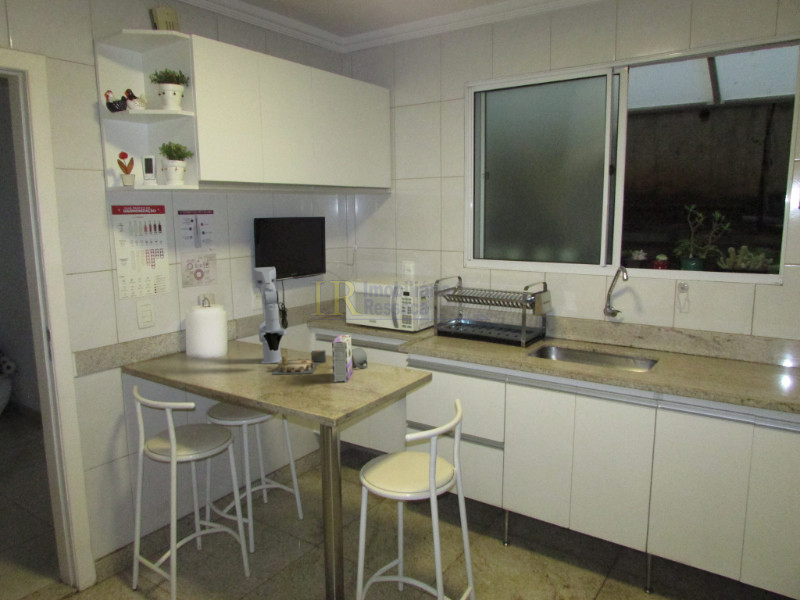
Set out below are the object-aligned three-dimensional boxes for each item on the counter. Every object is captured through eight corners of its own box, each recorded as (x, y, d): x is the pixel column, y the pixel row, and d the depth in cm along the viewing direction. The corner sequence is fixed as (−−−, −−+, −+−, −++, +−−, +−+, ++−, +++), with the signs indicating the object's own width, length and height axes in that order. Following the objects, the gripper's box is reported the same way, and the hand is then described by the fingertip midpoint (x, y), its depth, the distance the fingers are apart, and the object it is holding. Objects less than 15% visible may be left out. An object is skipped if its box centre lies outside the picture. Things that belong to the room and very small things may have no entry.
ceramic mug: (342, 366, 238) (341, 349, 237) (355, 362, 244) (355, 345, 243) (359, 371, 231) (358, 353, 230) (372, 366, 237) (372, 349, 236)
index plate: (281, 364, 245) (281, 363, 245) (319, 363, 245) (319, 362, 245) (272, 374, 229) (272, 373, 229) (312, 373, 228) (312, 372, 228)
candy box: (339, 372, 229) (337, 334, 226) (353, 372, 228) (351, 334, 226) (333, 382, 215) (331, 341, 213) (348, 382, 215) (346, 341, 212)
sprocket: (282, 363, 244) (282, 351, 244) (316, 362, 244) (315, 350, 243) (274, 372, 229) (274, 360, 229) (310, 372, 229) (310, 359, 228)
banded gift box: (312, 361, 249) (312, 350, 248) (326, 361, 249) (325, 350, 248) (311, 363, 246) (311, 352, 245) (325, 362, 246) (324, 351, 245)
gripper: (252, 319, 235) (254, 350, 236) (278, 321, 227) (280, 353, 229) (264, 316, 241) (266, 347, 242) (289, 319, 233) (291, 350, 235)
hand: (273, 350), depth 236 cm, fingers closed
